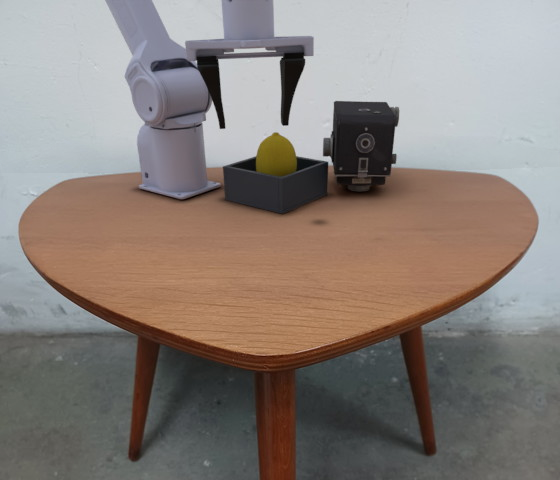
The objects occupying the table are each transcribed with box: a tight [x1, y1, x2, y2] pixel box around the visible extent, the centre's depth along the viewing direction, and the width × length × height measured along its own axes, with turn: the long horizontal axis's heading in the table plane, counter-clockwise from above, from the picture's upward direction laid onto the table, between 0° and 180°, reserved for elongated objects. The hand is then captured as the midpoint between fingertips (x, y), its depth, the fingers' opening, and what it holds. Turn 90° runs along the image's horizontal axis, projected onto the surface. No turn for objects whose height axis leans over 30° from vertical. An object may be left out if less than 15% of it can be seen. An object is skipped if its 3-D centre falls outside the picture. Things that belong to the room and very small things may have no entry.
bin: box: [222, 155, 329, 215], centre depth 76 cm, size 10×10×4 cm
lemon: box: [256, 131, 297, 177], centre depth 75 cm, size 6×6×8 cm
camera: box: [322, 100, 400, 192], centre depth 79 cm, size 11×11×15 cm
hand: (253, 125), depth 68 cm, fingers open, 7 cm apart
